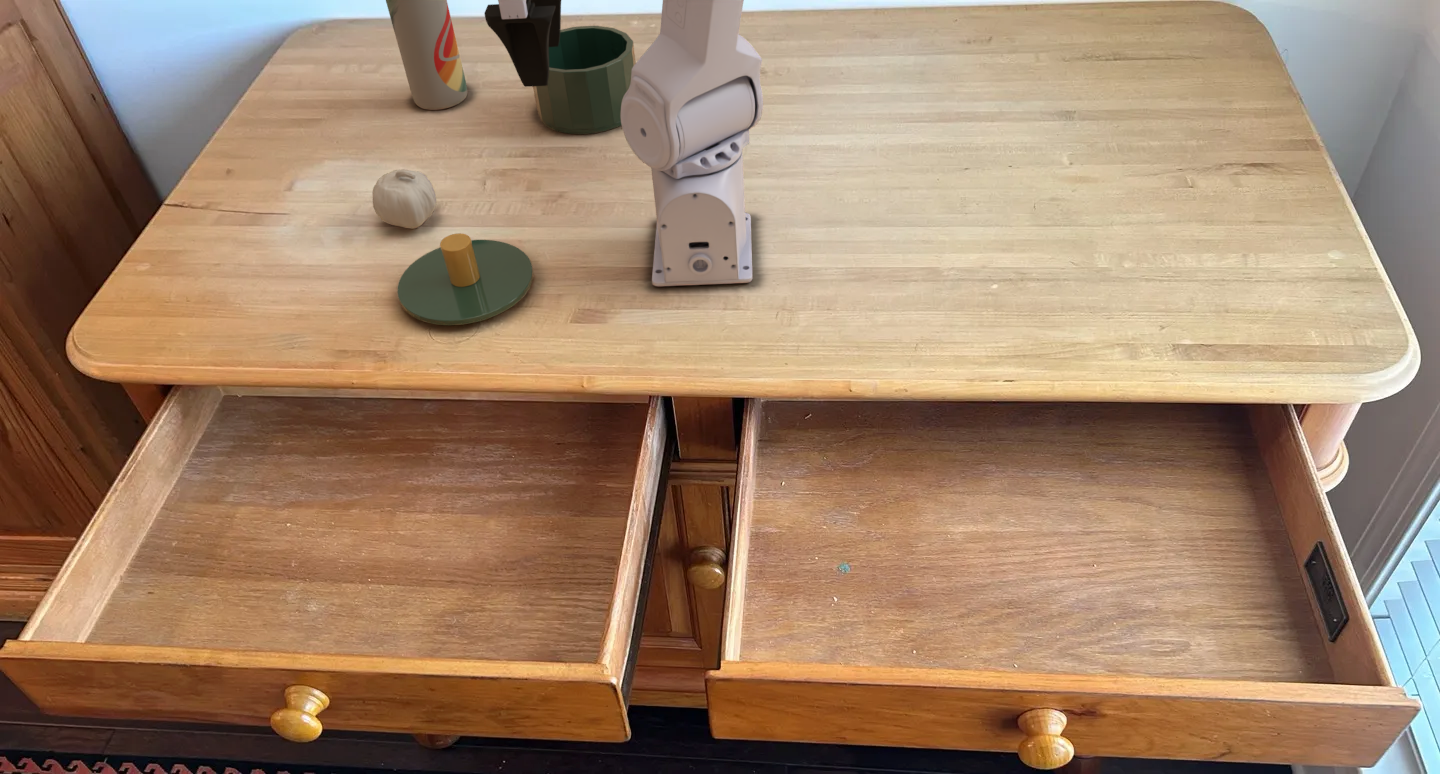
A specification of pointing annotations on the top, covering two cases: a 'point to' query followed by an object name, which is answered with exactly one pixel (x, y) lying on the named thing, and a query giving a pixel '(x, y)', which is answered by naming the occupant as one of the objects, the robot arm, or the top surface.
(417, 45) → the spray bottle
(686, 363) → the top surface
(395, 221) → the garlic
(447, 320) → the lid
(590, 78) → the pot
